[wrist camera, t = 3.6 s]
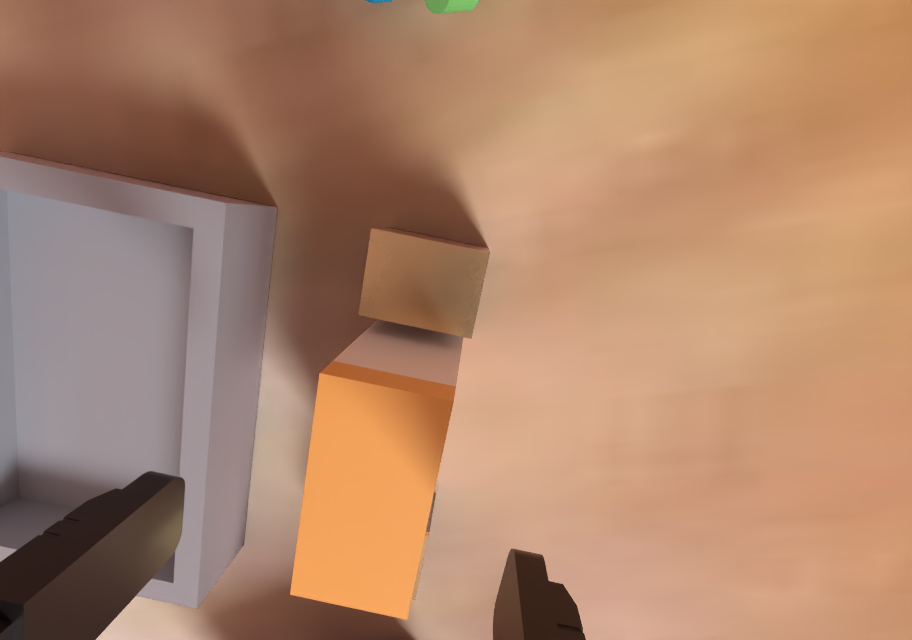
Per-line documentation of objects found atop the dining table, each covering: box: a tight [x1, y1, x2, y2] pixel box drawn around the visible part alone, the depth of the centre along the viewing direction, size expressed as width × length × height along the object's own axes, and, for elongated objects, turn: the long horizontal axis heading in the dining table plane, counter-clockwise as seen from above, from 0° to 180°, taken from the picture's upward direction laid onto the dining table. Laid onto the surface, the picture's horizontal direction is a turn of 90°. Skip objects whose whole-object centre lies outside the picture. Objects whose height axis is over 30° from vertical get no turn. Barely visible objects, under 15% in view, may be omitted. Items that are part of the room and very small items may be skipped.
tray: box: [0, 151, 277, 609], centre depth 17 cm, size 11×16×4 cm
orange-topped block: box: [290, 319, 463, 620], centre depth 15 cm, size 4×7×7 cm, turn 169°
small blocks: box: [358, 228, 490, 600], centre depth 17 cm, size 4×14×3 cm, turn 169°
